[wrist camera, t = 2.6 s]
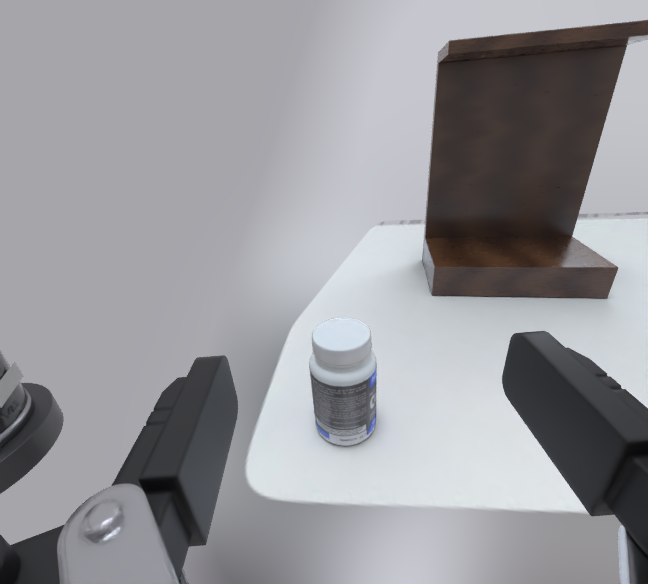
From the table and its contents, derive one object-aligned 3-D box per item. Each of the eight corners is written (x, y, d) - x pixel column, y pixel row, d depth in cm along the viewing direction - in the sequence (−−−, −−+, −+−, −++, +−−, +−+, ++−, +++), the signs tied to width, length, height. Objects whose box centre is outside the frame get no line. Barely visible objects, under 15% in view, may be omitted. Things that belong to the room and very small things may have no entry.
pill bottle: (385, 440, 25) (387, 347, 21) (321, 453, 24) (312, 360, 20) (365, 394, 29) (364, 309, 25) (311, 404, 28) (301, 319, 24)
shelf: (431, 295, 43) (456, 32, 31) (422, 259, 54) (438, 52, 41) (607, 298, 40) (716, 4, 27) (560, 259, 50) (624, 33, 38)
